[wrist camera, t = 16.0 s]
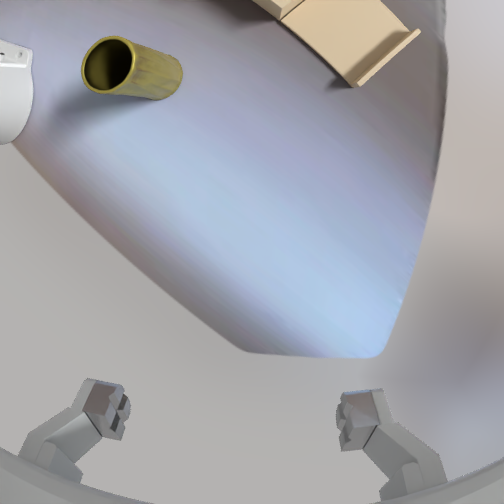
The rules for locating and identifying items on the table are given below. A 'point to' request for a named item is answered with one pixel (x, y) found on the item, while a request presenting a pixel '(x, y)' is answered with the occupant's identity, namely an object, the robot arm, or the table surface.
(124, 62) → the vase
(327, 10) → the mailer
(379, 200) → the table surface
